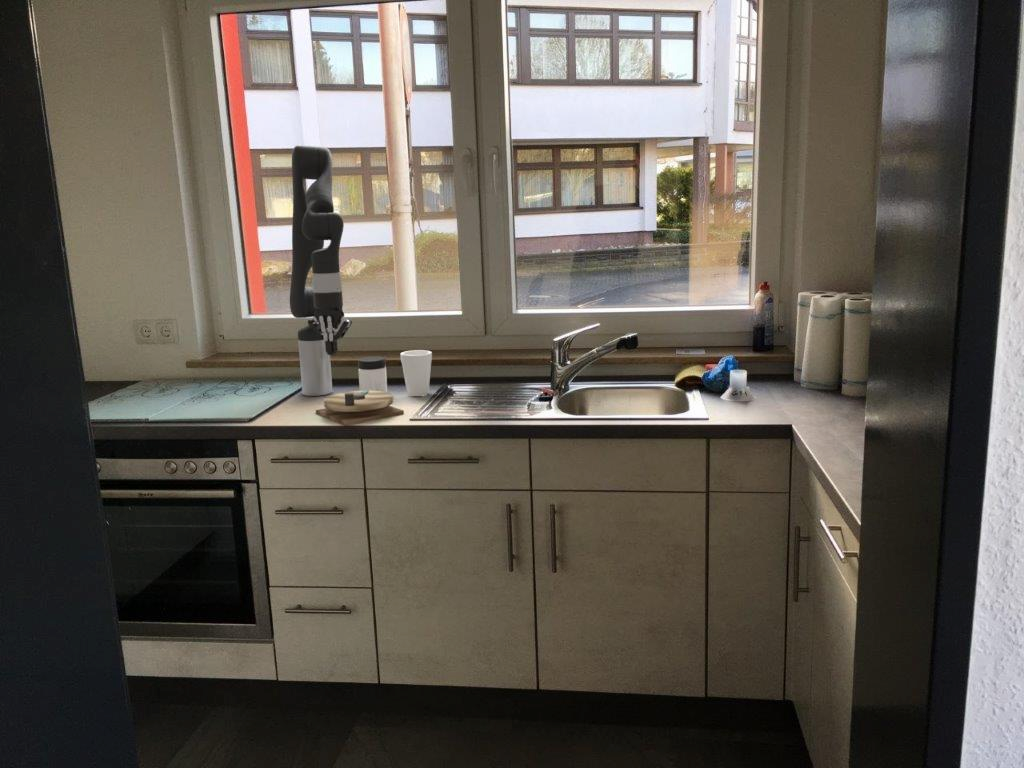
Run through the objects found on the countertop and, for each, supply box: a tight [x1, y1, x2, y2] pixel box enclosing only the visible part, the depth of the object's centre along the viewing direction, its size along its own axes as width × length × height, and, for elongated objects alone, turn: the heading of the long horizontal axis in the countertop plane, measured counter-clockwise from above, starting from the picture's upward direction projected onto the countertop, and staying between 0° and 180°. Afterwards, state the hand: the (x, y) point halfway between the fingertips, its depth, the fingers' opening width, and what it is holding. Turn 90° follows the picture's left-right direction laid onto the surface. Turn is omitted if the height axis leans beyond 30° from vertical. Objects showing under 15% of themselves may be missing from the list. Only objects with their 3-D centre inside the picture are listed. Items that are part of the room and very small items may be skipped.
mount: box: [315, 405, 405, 426], centre depth 233 cm, size 18×18×3 cm
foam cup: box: [400, 349, 433, 397], centre depth 254 cm, size 10×9×13 cm
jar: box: [357, 356, 388, 393], centre depth 251 cm, size 9×8×12 cm
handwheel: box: [323, 390, 394, 412], centre depth 232 cm, size 19×19×4 cm
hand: (332, 354), depth 223 cm, fingers closed
